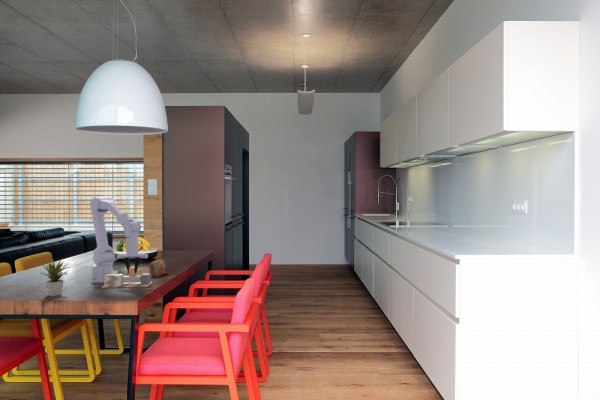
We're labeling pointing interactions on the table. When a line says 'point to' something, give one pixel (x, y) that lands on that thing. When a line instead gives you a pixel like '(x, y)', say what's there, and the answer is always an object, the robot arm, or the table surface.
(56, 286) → the house plant
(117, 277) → the tube stand
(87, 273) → the table surface
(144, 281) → the socket
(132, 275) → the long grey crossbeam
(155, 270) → the tin
